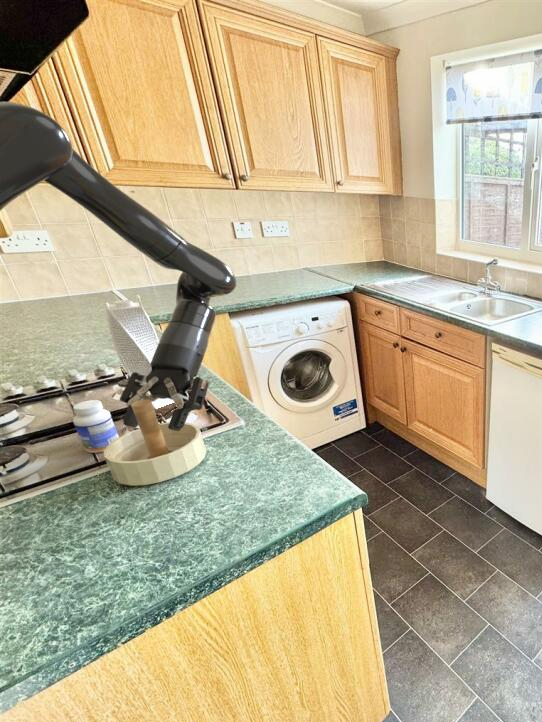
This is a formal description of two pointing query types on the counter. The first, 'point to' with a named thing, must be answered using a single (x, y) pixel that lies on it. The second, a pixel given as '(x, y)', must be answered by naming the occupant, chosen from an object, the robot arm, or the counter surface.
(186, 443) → the bowl
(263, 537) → the counter surface
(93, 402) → the pill bottle
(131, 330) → the skyscraper
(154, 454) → the tan cylinder
